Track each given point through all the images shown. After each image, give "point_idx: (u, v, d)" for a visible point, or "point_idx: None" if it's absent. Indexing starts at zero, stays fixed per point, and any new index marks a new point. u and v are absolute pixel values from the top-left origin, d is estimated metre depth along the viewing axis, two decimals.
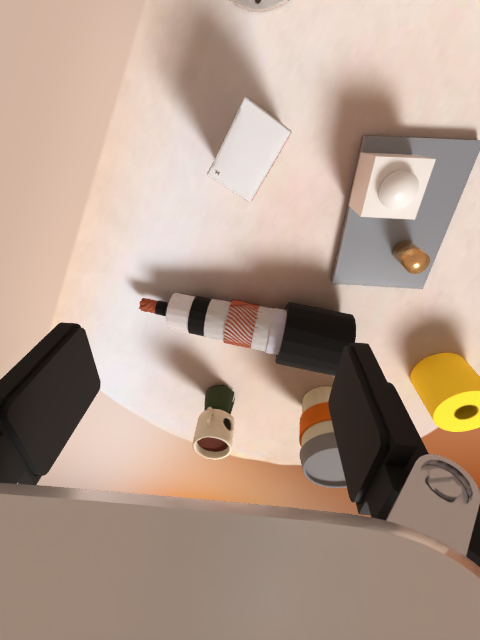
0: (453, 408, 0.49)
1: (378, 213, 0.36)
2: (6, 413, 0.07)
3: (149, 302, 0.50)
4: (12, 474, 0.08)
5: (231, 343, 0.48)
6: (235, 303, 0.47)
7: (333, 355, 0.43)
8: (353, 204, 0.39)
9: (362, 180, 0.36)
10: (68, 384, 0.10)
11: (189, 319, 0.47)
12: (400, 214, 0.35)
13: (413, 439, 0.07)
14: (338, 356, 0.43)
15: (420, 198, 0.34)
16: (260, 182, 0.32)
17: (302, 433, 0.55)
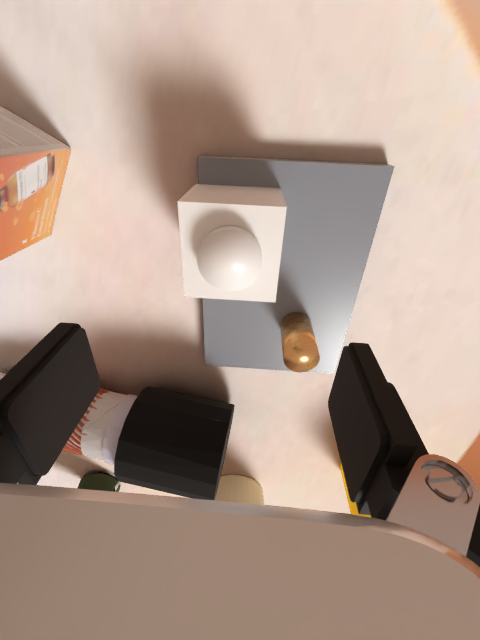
0: None
1: (212, 292, 0.21)
2: (6, 413, 0.07)
3: None
4: (12, 474, 0.08)
5: None
6: None
7: (189, 483, 0.29)
8: None
9: None
10: (68, 384, 0.10)
11: None
12: (249, 294, 0.21)
13: (413, 439, 0.07)
14: (197, 485, 0.29)
15: (276, 270, 0.20)
16: None
17: None
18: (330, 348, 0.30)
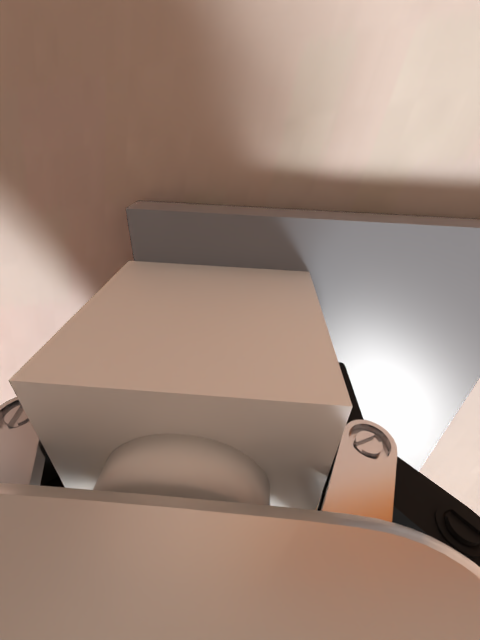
0: None
1: None
2: None
3: None
4: None
5: None
6: None
7: None
8: None
9: None
10: None
11: None
12: None
13: None
14: None
15: None
16: None
17: None
18: None
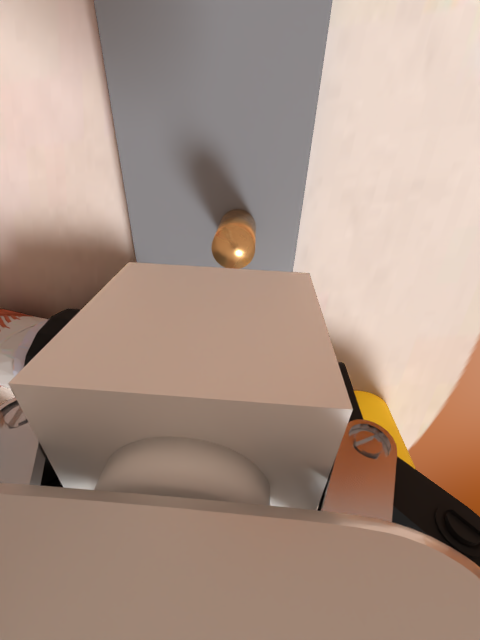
0: None
1: None
2: None
3: None
4: None
5: None
6: None
7: None
8: None
9: None
10: None
11: None
12: None
13: None
14: None
15: None
16: None
17: None
18: (281, 259, 0.26)
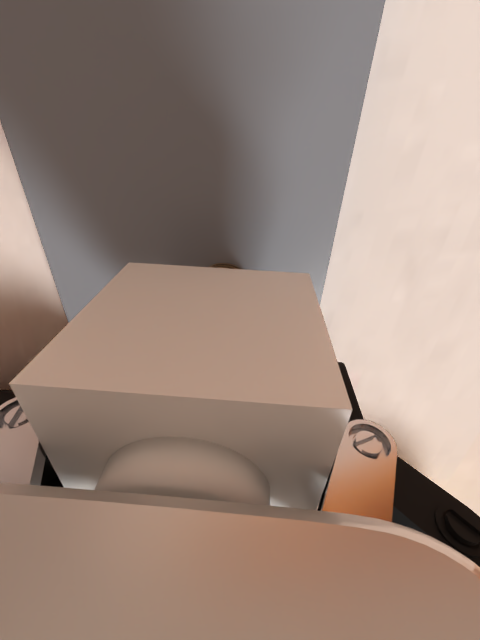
0: None
1: None
2: None
3: None
4: None
5: None
6: None
7: None
8: None
9: None
10: None
11: None
12: None
13: None
14: None
15: None
16: None
17: None
18: None
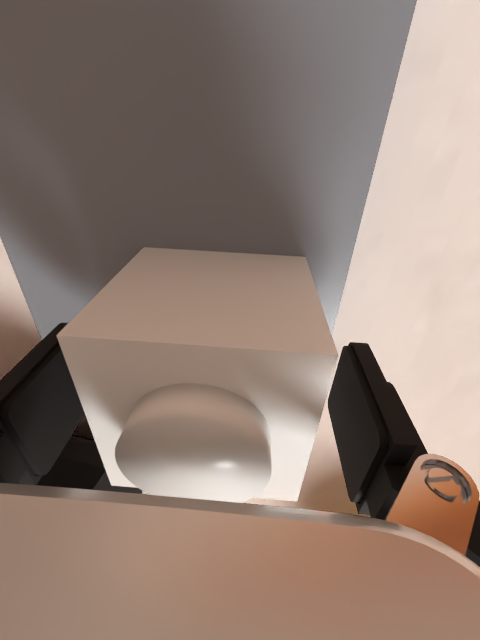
0: None
1: None
2: (7, 413, 0.07)
3: None
4: (13, 474, 0.08)
5: None
6: None
7: None
8: None
9: None
10: (68, 384, 0.10)
11: None
12: None
13: (412, 439, 0.07)
14: None
15: (301, 460, 0.09)
16: None
17: None
18: None
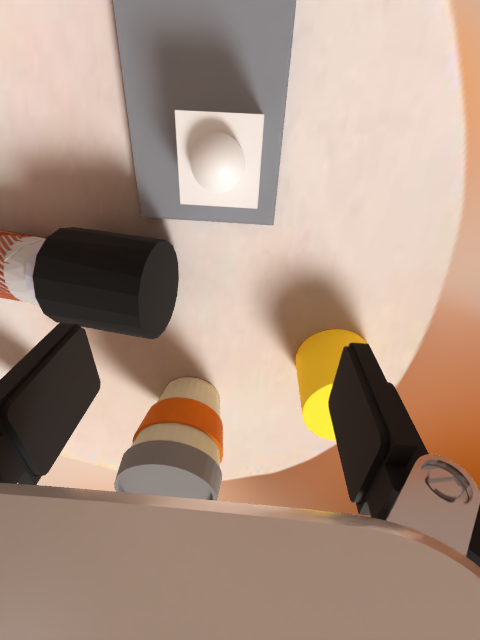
0: (328, 407, 0.33)
1: (203, 199, 0.24)
2: (6, 413, 0.07)
3: None
4: (12, 474, 0.08)
5: None
6: None
7: (111, 298, 0.26)
8: None
9: None
10: (68, 384, 0.10)
11: None
12: (234, 200, 0.24)
13: (413, 439, 0.07)
14: (119, 299, 0.26)
15: (256, 176, 0.23)
16: None
17: (134, 441, 0.39)
18: (266, 189, 0.29)
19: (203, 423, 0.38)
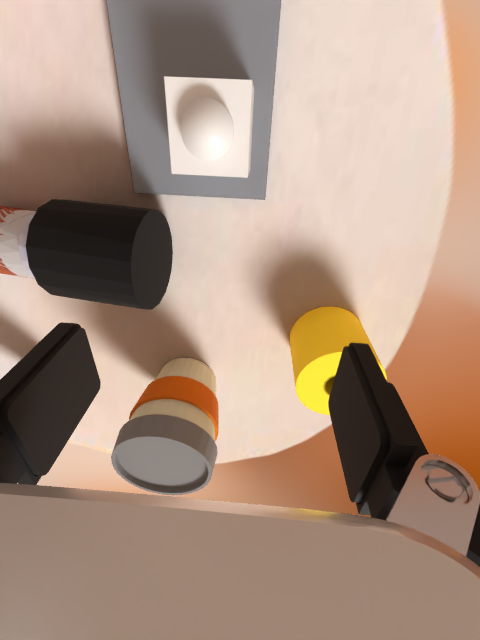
0: (320, 380, 0.34)
1: (194, 168, 0.25)
2: (6, 413, 0.07)
3: None
4: (12, 474, 0.08)
5: None
6: None
7: (104, 265, 0.27)
8: None
9: None
10: (68, 384, 0.10)
11: None
12: (225, 169, 0.25)
13: (413, 439, 0.07)
14: (112, 266, 0.26)
15: (246, 144, 0.24)
16: None
17: None
18: (257, 162, 0.30)
19: (198, 399, 0.38)
